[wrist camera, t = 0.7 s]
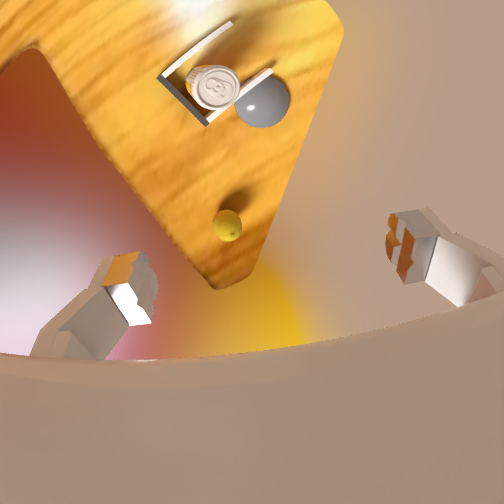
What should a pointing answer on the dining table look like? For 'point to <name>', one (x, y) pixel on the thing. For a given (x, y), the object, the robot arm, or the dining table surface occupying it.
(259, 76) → the channel
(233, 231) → the lemon
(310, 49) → the dining table surface
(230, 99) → the beer can
